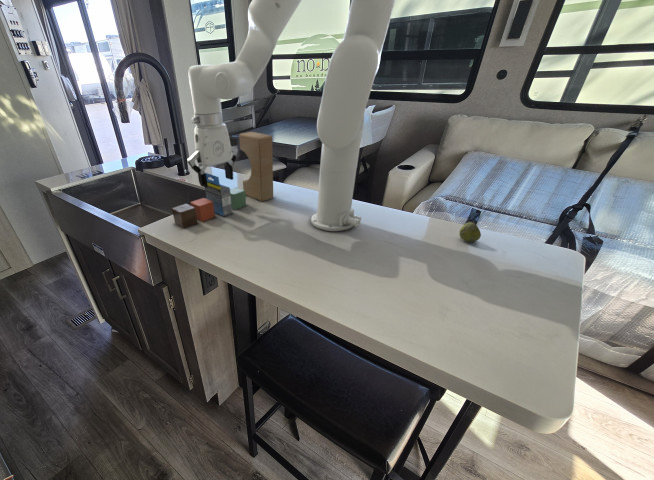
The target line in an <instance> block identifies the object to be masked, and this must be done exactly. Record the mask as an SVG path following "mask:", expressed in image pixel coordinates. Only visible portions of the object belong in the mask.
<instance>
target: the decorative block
mask: <svg viewBox="0 0 654 480" xmlns="http://www.w3.org/2000/svg"><path fill="white" fill-rule="evenodd" d="M238 138H239V149H240V150H241V151H242V152H243V153H244V154H245V155H246V156H247V159H248V161H249V163H250V169H251V170H250V175H249V178H247V179H245V180H243V181H242V190H245V194H246V196H248V197H250V198H252V199H255V200H257V201H260V202H265V201H268V200H270V199H273V198H274V167H273V166H274V161H273V159H274V158H273V136H272V135H270V134H265V133H260V132H256V131H248V132H242V133H239V135H238Z"/></svg>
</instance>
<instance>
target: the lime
mask: <svg viewBox="0 0 654 480" xmlns="http://www.w3.org/2000/svg"><path fill="white" fill-rule="evenodd" d="M458 235H459V237H460V239H461V240H463V241H466V242H468V243H474V242H477V241H479V240H480V239H481V237H482V233H481V230H480V228H479V227H478V225H477V224H476V223H475V222H472V221H469V222H466V223H465V224H463V225H462V226H461V227H460V229H459V233H458Z"/></svg>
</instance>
